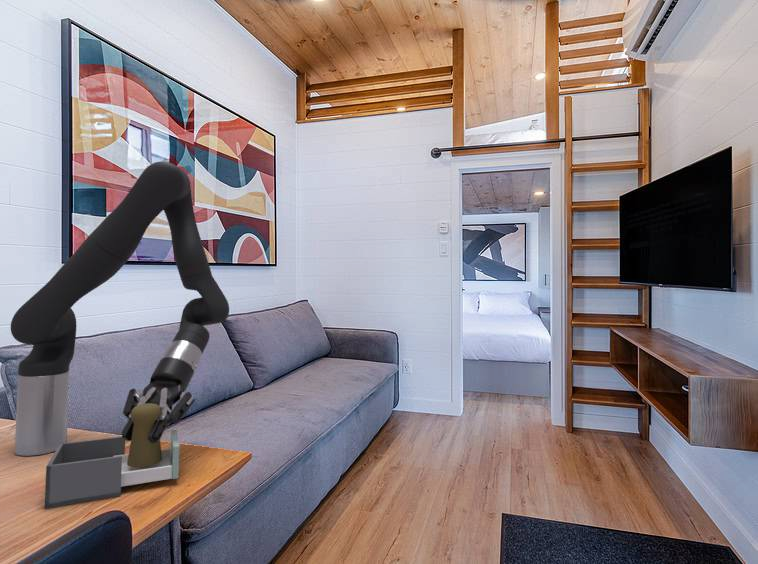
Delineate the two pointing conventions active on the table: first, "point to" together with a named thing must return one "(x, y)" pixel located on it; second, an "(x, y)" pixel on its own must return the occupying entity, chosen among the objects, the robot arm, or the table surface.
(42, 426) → the robot arm
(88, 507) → the table surface
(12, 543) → the table surface
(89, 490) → the box
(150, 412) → the cork
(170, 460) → the drawer
